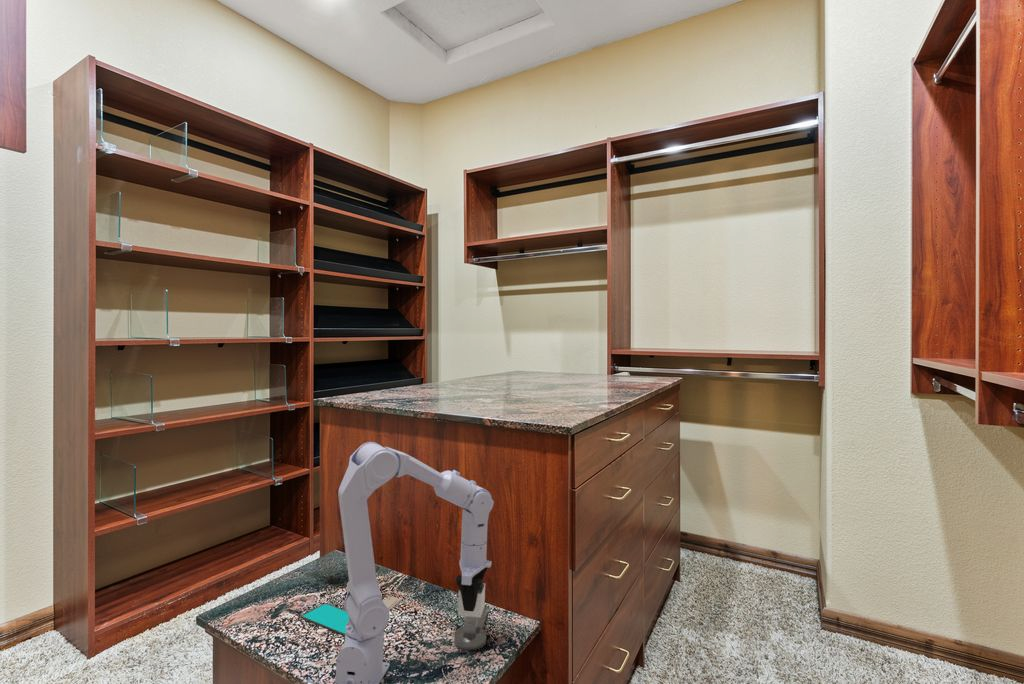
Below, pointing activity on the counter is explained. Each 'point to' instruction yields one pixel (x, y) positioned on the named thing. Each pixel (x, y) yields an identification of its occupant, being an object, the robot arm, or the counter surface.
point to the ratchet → (471, 633)
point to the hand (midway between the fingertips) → (471, 603)
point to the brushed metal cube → (478, 607)
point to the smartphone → (328, 618)
